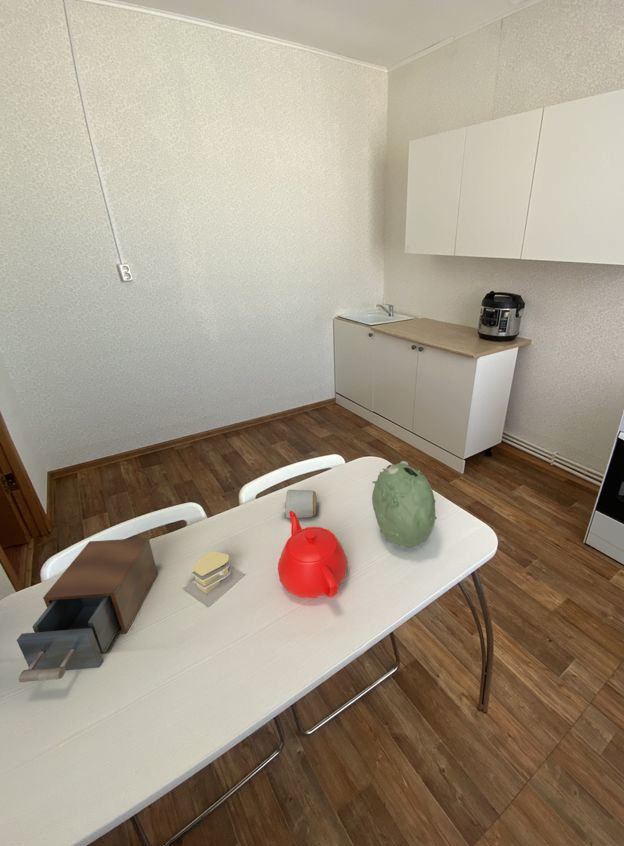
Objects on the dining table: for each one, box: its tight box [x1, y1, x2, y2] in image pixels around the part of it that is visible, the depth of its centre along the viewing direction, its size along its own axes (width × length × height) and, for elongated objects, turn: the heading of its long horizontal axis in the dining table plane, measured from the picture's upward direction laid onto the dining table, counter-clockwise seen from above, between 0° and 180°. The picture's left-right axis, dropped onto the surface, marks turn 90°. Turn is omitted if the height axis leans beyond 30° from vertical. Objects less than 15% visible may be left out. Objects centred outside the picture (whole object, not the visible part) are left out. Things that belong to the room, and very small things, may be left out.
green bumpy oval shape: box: [371, 460, 437, 548], centre depth 95 cm, size 16×19×20 cm
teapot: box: [277, 511, 348, 599], centre depth 86 cm, size 25×16×12 cm, turn 30°
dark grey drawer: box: [16, 596, 120, 683], centre depth 69 cm, size 18×11×9 cm, turn 4°
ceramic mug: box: [285, 489, 317, 519], centre depth 108 cm, size 11×8×8 cm
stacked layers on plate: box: [182, 551, 246, 608], centre depth 85 cm, size 10×9×6 cm
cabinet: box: [42, 537, 159, 635], centre depth 79 cm, size 15×13×11 cm
